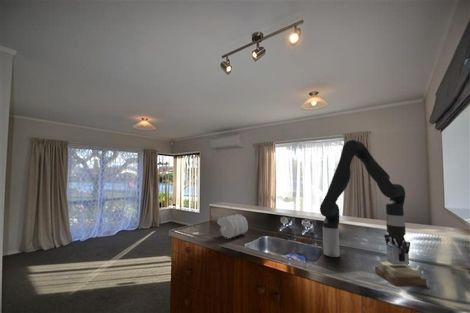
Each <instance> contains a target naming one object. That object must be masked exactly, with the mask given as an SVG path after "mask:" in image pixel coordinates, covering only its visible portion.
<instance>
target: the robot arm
mask: <svg viewBox="0 0 470 313" xmlns="http://www.w3.org/2000/svg"><path fill="white" fill-rule="evenodd" d="M354 157H356V158H357V159H359V160H360V161H361V162H362V164H363V165H364V168H365V170H366V172H367V174H368V175H369V176H370V177H371V178H372V180H373V181H374V182H375V183H376V185H377V187H378V189H379V191H380V192H381V194H382V195H384V196H385V197H386V198H388V199H389V201H388V202H387V203H386V205H385V213H386V217H385V223H386V232H387V233H388V234H384V235H383V237H384V240H385V245H386V244H395V245H396V247H397V248H398V251H399V261H401V262H404V261H405V254H408V253H409V252H410V248H411V242H410V241H407V240H406V239H405V236H406V233H407V232H406V222H405V221H406V219H405V214H404V211H405V210H404V204H405V198H406V191H405V188H404V186H403V185H401V184H398V183H392V181H391V180H390V177H391V176H390V175H389V174H388V172H386V171H385V170H384V168H383V167H382V166H381V165H380V164H379V163H378V162H377V161H376V160H375V158H374V157H373V156H372V154H371V153H370V151H369V150H368V149H367V146H365V144H364V143H363V142H362V141H360V140H355V139H348V140H347V141H345V143H344V144H343V147H342V150H341V154H340V158H339V161H338V163H337V166H336V169H335V171H334V174H333V176H332V179H331V182H330V184H329V187H328V189H327V192H326V194H325V197H324V198H323V200H322V202H321V204H320V205H319V206H320V207H319V212H320V214H321V215H322V216H323V217H325V218H324V220H323V221H322V239H323V240H322V241H323V242H322V243H323V244H322V245H323V246H322V247H323V255H325V256H328V257H330V258H338V257H340V239H339V238H340V233H339V232H340V231H339V225H340V207H339V205H338V203H337V201H338V200H339V198H340V196H341V195H342V194H343V192H344V191H345V190H346V189H347V187H348V185H349V182H350V180H351V177H352V176H351V164H352V161H353V159H354ZM401 245H402V247H399V246H401ZM401 248H402V251H401ZM405 250H406V251H405ZM409 254H410V253H409Z"/></svg>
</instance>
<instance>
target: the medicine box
mask: <svg viewBox="0 0 470 313" xmlns="http://www.w3.org/2000/svg"><path fill="white" fill-rule="evenodd" d="M385 245H386V246H385V247H386V262H390V263H391V264H393V265H406V264H408V265H410V257H409V256H410V255H409V254H410V253H408V254H405V261H404V262H401V261H399V251H398V248H397V247H396V245H395V244H386V243H385ZM399 247H402V245H401V246H399ZM401 251H402V248H401ZM405 251H406V250H405Z"/></svg>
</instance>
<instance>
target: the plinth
mask: <svg viewBox="0 0 470 313" xmlns="http://www.w3.org/2000/svg"><path fill="white" fill-rule="evenodd" d="M374 270H375V272H374V273H376V274H377V275H379V276H381V277H382V278H383V279H385V280H386V281H388V282H390V283H391V284H392V285H394V286H396V287H427V285H428V284H427V279H426V278H425V277H422V276H421V274H420V271H421V270H420V269H418V268H416V267H413V266H411V265H410V264H406V265H393V264H391V263H390V262H388V261H379V266H377V265H376V266H375V267H374Z"/></svg>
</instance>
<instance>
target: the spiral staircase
mask: <svg viewBox="0 0 470 313" xmlns="http://www.w3.org/2000/svg"><path fill="white" fill-rule="evenodd" d="M216 223H217V224H218V225H219V226H220V229H219V230H220V232H221V236H223V237H224V238H225V237H227V238H226V239H229V238H230V239H232V238H233V237H234V238H235V237H236V236H241V234H243V235H244V234H245V233H246V232H248V229H249V226H248V225H249V223H248V220H247V218H246V217H245V216H243V214H239V213H236V214H234V215H233V214H231V215H228V216H222V217H221V218H218V219H217V221H216Z"/></svg>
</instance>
